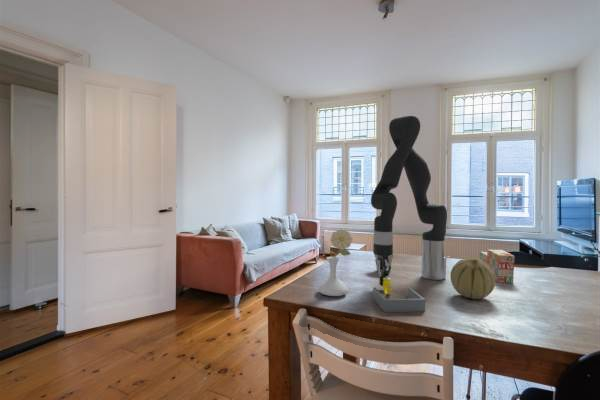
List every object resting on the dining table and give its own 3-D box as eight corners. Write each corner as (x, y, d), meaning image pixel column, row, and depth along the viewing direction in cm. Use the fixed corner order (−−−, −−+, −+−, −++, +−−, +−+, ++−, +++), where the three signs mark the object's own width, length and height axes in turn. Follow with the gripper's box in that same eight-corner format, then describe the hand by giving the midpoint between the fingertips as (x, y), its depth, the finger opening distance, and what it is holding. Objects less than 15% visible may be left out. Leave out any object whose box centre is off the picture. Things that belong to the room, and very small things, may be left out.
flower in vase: (313, 296, 115) (314, 229, 114) (323, 287, 125) (323, 226, 124) (348, 301, 110) (349, 231, 109) (355, 291, 120) (355, 227, 119)
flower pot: (370, 271, 149) (370, 254, 148) (377, 267, 156) (377, 250, 156) (389, 275, 143) (390, 256, 143) (396, 270, 151) (396, 253, 151)
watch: (381, 291, 121) (381, 276, 121) (388, 291, 121) (388, 276, 121) (385, 295, 115) (385, 279, 115) (393, 295, 115) (392, 279, 115)
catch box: (409, 297, 114) (409, 286, 114) (425, 311, 101) (425, 299, 101) (372, 298, 113) (373, 287, 113) (384, 312, 100) (384, 300, 100)
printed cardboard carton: (479, 270, 153) (479, 245, 153) (493, 270, 152) (493, 246, 152) (497, 283, 132) (498, 254, 132) (513, 283, 131) (514, 255, 131)
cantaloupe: (474, 290, 123) (475, 252, 122) (505, 303, 108) (506, 261, 108) (441, 292, 120) (441, 253, 120) (467, 306, 106) (468, 263, 105)
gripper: (398, 245, 116) (397, 290, 117) (387, 239, 129) (386, 280, 130) (378, 245, 116) (378, 291, 116) (369, 239, 129) (368, 280, 130)
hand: (382, 285), depth 123 cm, fingers closed
